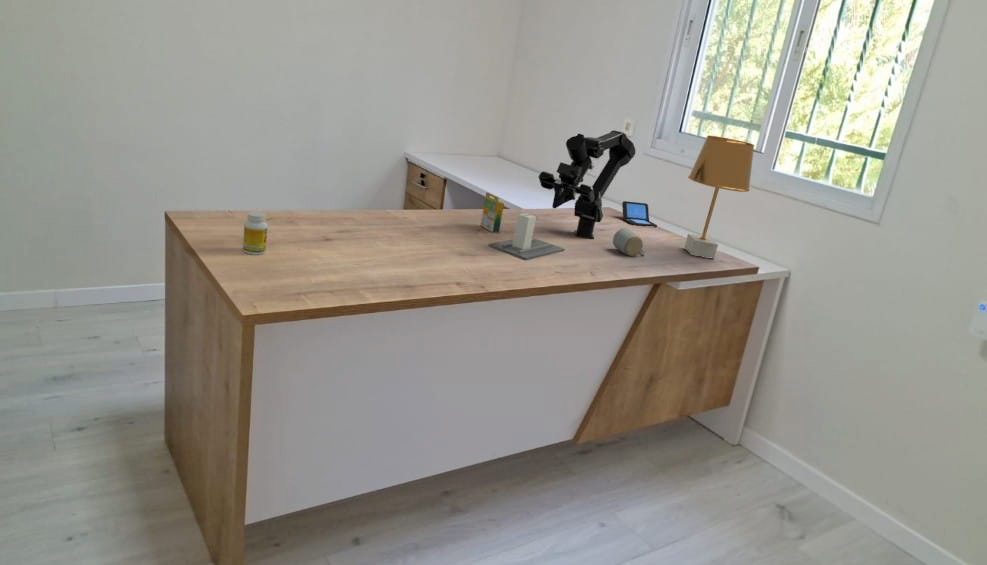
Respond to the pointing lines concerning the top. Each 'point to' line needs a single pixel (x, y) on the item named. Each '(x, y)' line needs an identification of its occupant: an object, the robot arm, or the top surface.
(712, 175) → the lamp
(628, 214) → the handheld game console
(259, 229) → the supplement bottle
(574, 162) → the robot arm
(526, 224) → the fader knob
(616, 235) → the ceramic mug
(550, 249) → the fader console
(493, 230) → the crayon box
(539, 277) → the top surface
